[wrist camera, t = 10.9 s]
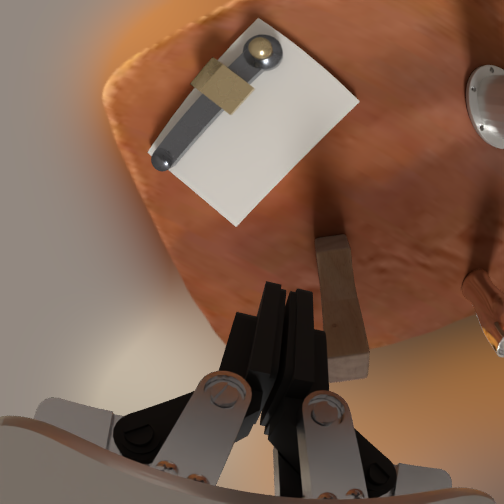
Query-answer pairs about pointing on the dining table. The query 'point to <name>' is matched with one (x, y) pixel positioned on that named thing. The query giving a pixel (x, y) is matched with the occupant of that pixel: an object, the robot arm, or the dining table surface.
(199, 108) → the link
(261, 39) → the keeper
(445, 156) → the dining table surface
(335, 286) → the wooden block
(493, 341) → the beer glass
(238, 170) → the base plate
